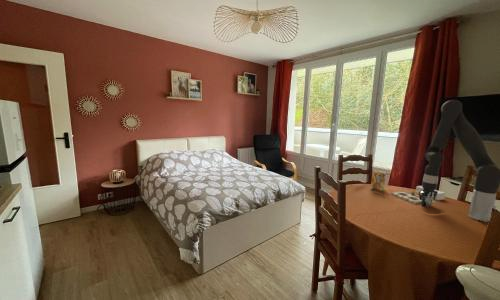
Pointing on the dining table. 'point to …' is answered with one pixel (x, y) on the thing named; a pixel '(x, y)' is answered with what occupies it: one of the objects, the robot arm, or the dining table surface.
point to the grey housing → (440, 194)
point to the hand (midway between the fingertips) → (426, 205)
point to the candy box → (378, 180)
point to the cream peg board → (407, 197)
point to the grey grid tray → (414, 194)
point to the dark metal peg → (428, 201)
